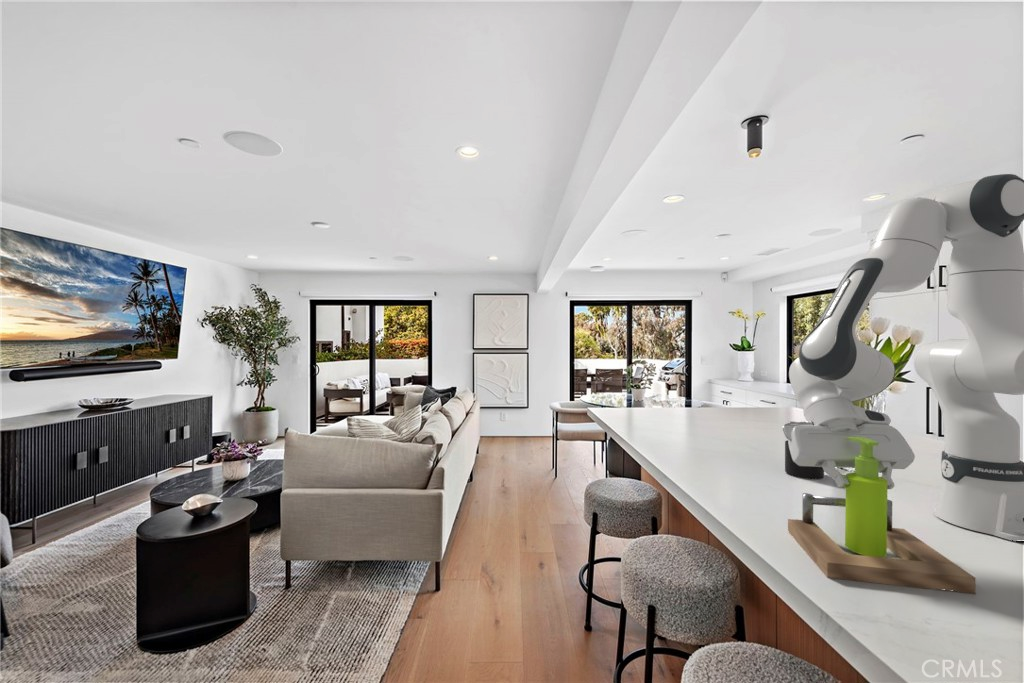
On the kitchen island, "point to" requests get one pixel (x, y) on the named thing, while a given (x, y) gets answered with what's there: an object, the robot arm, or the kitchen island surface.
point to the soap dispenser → (866, 504)
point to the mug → (801, 467)
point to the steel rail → (830, 501)
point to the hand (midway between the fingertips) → (866, 487)
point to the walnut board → (884, 561)
